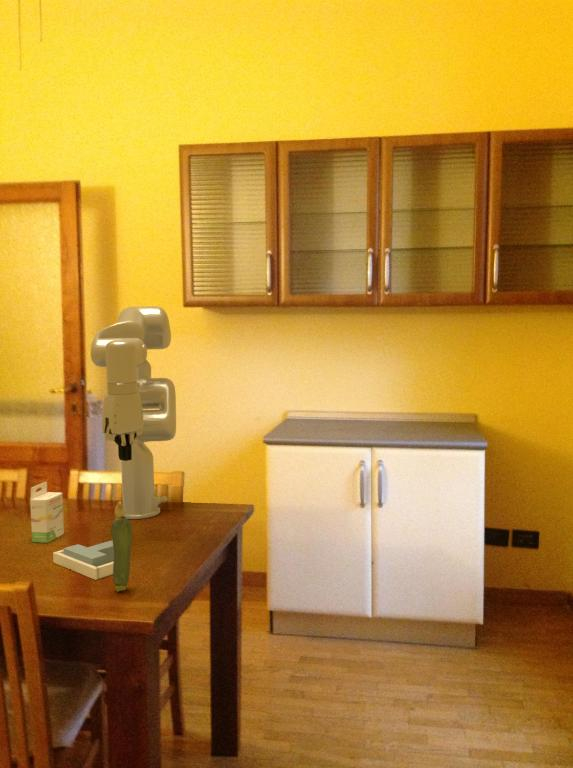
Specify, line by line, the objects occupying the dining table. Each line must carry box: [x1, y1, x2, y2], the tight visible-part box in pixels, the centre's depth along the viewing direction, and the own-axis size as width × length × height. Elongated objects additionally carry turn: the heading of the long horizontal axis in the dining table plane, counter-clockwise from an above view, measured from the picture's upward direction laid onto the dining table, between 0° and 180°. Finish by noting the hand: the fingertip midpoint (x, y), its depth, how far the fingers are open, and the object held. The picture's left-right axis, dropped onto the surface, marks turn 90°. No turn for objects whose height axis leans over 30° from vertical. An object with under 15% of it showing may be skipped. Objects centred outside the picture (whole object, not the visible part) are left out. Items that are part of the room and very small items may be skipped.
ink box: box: [29, 481, 65, 544], centre depth 187 cm, size 9×5×15 cm, turn 168°
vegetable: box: [110, 500, 133, 593], centre depth 149 cm, size 4×4×20 cm
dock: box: [52, 549, 114, 581], centre depth 165 cm, size 7×18×2 cm, turn 49°
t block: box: [62, 539, 114, 567], centre depth 167 cm, size 12×12×4 cm
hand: (125, 459), depth 178 cm, fingers closed
